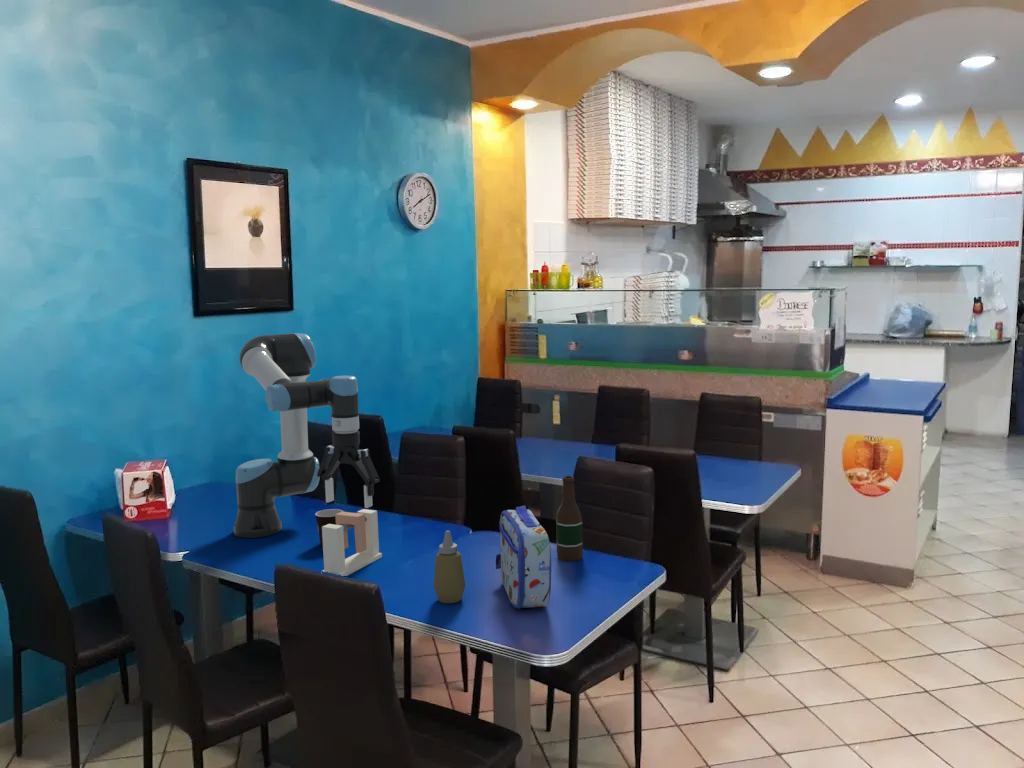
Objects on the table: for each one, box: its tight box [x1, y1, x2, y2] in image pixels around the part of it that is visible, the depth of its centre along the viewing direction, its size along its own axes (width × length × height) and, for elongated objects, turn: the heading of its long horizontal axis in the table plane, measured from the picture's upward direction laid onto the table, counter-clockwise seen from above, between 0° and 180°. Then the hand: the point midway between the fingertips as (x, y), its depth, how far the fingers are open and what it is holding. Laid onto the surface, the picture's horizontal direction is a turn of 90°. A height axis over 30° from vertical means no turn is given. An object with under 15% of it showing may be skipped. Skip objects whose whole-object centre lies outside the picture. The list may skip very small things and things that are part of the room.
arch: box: [335, 511, 367, 553], centre depth 237 cm, size 8×3×10 cm, turn 64°
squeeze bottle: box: [433, 530, 466, 604], centre depth 211 cm, size 8×8×18 cm
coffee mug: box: [314, 508, 344, 548], centre depth 260 cm, size 12×9×10 cm
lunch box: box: [495, 505, 552, 609], centre depth 212 cm, size 28×10×22 cm, turn 12°
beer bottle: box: [555, 475, 584, 563], centre depth 239 cm, size 8×8×24 cm
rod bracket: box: [321, 508, 383, 577], centre depth 238 cm, size 7×19×14 cm, turn 154°
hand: (349, 504), depth 237 cm, fingers open, 13 cm apart
